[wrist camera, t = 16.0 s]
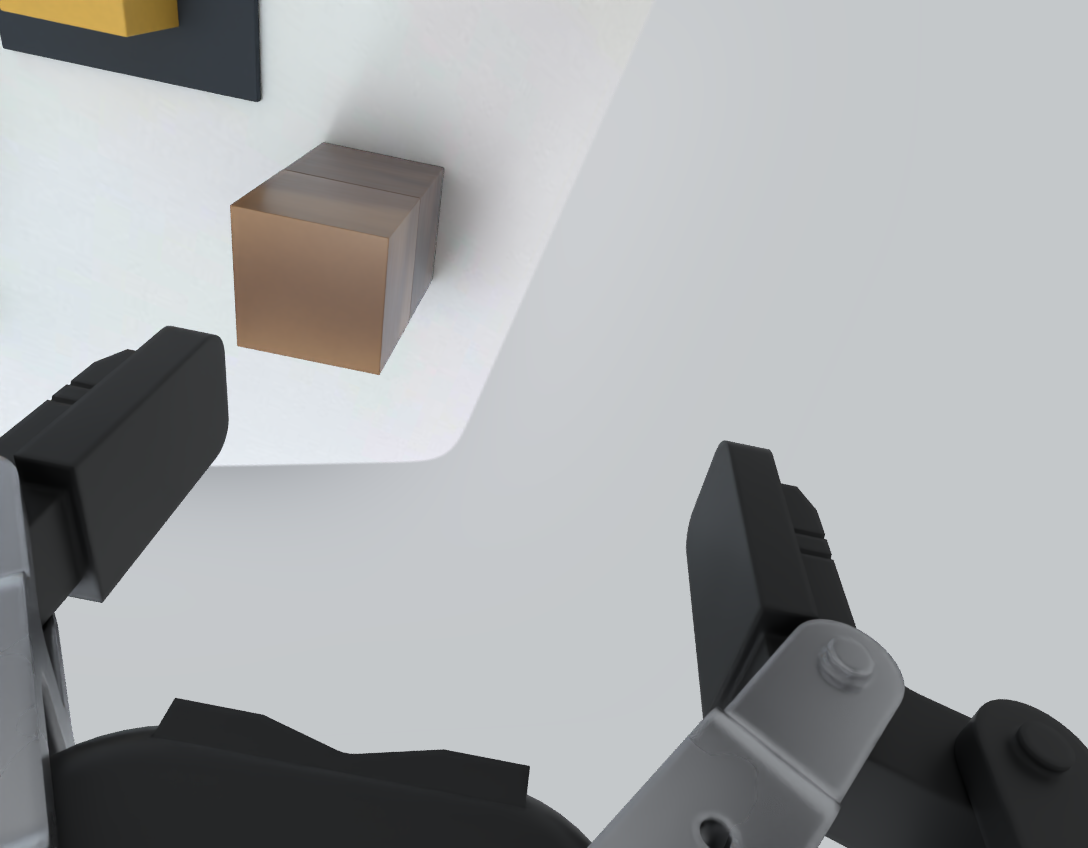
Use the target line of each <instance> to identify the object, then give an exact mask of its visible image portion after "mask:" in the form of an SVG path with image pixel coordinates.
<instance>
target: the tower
mask: <svg viewBox="0 0 1088 848" xmlns="http://www.w3.org/2000/svg"><path fill="white" fill-rule="evenodd" d="M443 174H444V168H442V167H438V166H433V165H428V164H424V163H419V162H414V161H409V160H405V159H400V158H395V157H390V156H386V155H381V154H376V153H372V152H367V151H362V150H357V149H353V148H348V147H343V146H338V145H334V144H329V143H322V144H320V145H319V146H317V147H316V148H314V149H313V150H311V151H310V152H308V153H307V154H305V155H304V156H302V157H301V158H300V159H298V160H297V161H295V162H294V163H292V164H291V165H289V166H288V167H286V168H285V169H284V170H281V171H280V172H278V173H277V174H275V175H274V176H272V177H271V178H270V179H268V180H267V181H265V182H264V183H262V184H261V185H259V186H258V187H256V188H255V189H253V190H252V191H250V192H249V193H247V194H246V195H245V196H243V197H242V198H240V199H239V200H237V201H236V202H234V203H233V204H231V205H230V211H231V231H232V251H233V271H234V291H235V310H236V330H237V346H240V347H245V348H250V349H255V350H259V351H264V352H269V353H274V354H279V355H284V356H289V357H294V358H299V359H304V360H308V361H313V362H318V363H323V364H328V365H333V366H338V367H343V368H348V369H352V370H357V371H362V372H367V373H372V374H377V375H380V373H381V371H382V369H383V367H384V366H385V364H386V362H387V360H388V359H389V357H390V355H391V353H392V351H393V350H394V348H395V346H396V344H397V342H398V341H399V339H400V337H401V335H402V334H403V332H404V330H405V328H406V326H407V325H408V323H409V321H410V319H411V317H412V315H413V314H414V312H415V310H416V308H417V306H418V305H419V303H420V301H421V299H422V297H423V296H424V294H425V292H426V290H427V289H428V287H429V285H430V283H431V281H432V277H433V268H434V259H435V249H436V240H437V230H438V221H439V212H440V202H441V193H442V184H443Z"/></svg>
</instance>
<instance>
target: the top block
mask: <svg viewBox="0 0 1088 848" xmlns="http://www.w3.org/2000/svg"><path fill="white" fill-rule="evenodd" d="M0 9H1V10H2V11H6V12H11V13H15V14H20V15H25V16H29V17H34V18H39V19H44V20H48V21H53V22H58V23H62V24H67V25H72V26H76V27H81V28H86V29H91V30H95V31H100V32H105V33H109V34H114V35H119V36H123V37H129V36H134V35H139V34H144V33H149V32H154V31H159V30H164V29H169V28H174V27H178V26H179V20H178V7H177V0H0Z"/></svg>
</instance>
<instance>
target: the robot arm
mask: <svg viewBox="0 0 1088 848" xmlns="http://www.w3.org/2000/svg"><path fill="white" fill-rule="evenodd" d="M228 421H229V417H228V400H227V383H226V367H225V352H224V345H223V342H222V340H221V338H220V337H219V336H217V335H213V334H208V333H203V332H198V331H193V330H188V329H184V328H179V327H174V326H166V327H164V328H163V329H161V330H160V331H159V332H158V333H157V334H155V335H154V336H153V337H152V338H151V339H149V340H148V341H147V342H146V343H145V344H144V345H142V346H141V347H140V348H139V349H138V350H136V351H134V350H129V349H127V350H124V351H122V352H119V353H117V354H114V355H112V356H109V357H106V358H104V359H101V360H99V361H96V362H94V363H93V364H91V365H90V366H89V367H88V368H86V369H85V370H84V371H83V372H82V373H80V374H79V375H78V376H77V377H75V378H74V379H73V380H72V381H71V384H70V385H65V386H64V387H63V388H62V389H60V390H59V391H58V392H57V393H55V394H54V395H53V396H52V400H51V401H50V400H47V401H45V402H44V403H43V404H42V405H40V406H39V407H38V408H37V409H35V410H34V411H33V412H32V413H30V414H29V415H28V416H27V417H25V418H24V419H23V420H22V421H20V422H19V423H18V424H17V425H15V426H14V427H13V428H12V429H10V430H9V431H8V432H7V433H5V434H4V435H3V436H2V437H0V848H818V846H819V845H820V843H821V841H822V840H823V838H824V836H826V837H828V838H830V839H832V840H834V841H836V842H838V843H840V844H841V845H843V846H845V847H847V848H1088V749H1087V747H1086V746H1085V745H1084V744H1083V743H1082V742H1081V741H1080V740H1079V739H1078V738H1077V737H1076V736H1075V735H1074V734H1073V733H1072V732H1071V731H1070V730H1069V729H1067V728H1066V727H1065V726H1063V725H1062V724H1061V723H1060V722H1058V721H1057V720H1055V719H1054V718H1052V717H1051V716H1049V715H1048V714H1046V713H1044V712H1042V711H1040V710H1038V709H1036V708H1034V707H1032V706H1029V705H1027V704H1024V703H1020V702H1017V701H1012V700H1003V699H998V700H992V701H989V702H987V703H985V704H984V705H983V706H982V707H981V708H980V709H979V710H978V711H977V712H976V714H975V715H974V716H973V717H972V718H970V717H968V716H966V715H963V714H961V713H959V712H957V711H954V710H952V709H950V708H948V707H946V706H944V705H941V704H939V703H937V702H935V701H932V700H931V699H928V698H926V697H924V696H922V695H920V694H918V693H916V692H914V691H912V690H910V689H909V688H907V687H905V686H904V680H903V677H902V674H901V671H900V670H899V668H898V666H897V664H896V662H895V661H894V660H893V658H892V657H891V656H890V654H889V653H887V651H886V650H885V649H884V648H883V647H882V646H881V645H880V644H879V643H878V642H876V641H875V640H874V639H872V638H871V637H869V636H868V635H867V634H865V633H863V632H862V631H860V630H858V629H856V626H855V623H854V620H853V617H852V614H851V611H850V608H849V605H848V602H847V599H846V596H845V593H844V591H843V587H842V584H841V581H840V578H839V575H838V572H837V569H836V566H835V563H834V560H831V555H832V554H831V551H830V548H829V545H828V542H827V540H826V539H824V536H825V533H824V530H823V527H822V524H821V522H820V518H819V516H818V513H817V510H816V509H815V508H814V507H813V505H812V504H811V503H810V502H809V501H808V500H807V498H806V497H805V496H804V495H803V494H802V492H801V491H800V490H799V489H798V487H796V486H790V485H786V484H781V482H780V479H779V475H778V472H777V469H776V465H775V461H774V458H773V455H772V452H771V451H770V450H769V449H764V448H759V447H754V446H749V445H744V444H740V443H735V442H730V441H722V442H721V443H720V444H719V446H718V448H717V450H716V452H715V455H714V457H713V460H712V462H711V465H710V468H709V470H708V473H707V475H706V478H705V481H704V483H703V486H702V489H701V491H700V494H699V496H698V499H697V501H696V504H695V507H694V510H693V512H692V515H691V519H690V522H689V527H688V532H687V541H686V553H687V563H688V573H689V583H690V592H691V603H692V613H693V622H694V633H695V643H696V652H697V662H698V672H699V682H700V692H701V702H702V712H703V720H702V721H701V722H700V723H699V724H698V725H697V726H696V728H695V729H694V730H693V731H692V732H691V733H690V734H689V735H688V736H687V738H686V739H685V740H684V741H683V742H682V743H681V744H680V745H679V746H678V748H677V749H676V750H675V751H674V752H673V753H672V754H671V755H670V757H669V758H668V759H667V760H666V761H665V762H664V763H663V764H662V766H660V768H659V769H658V770H657V771H656V772H655V773H654V774H653V775H652V776H651V778H650V779H649V780H648V781H647V782H646V783H645V784H644V785H643V786H642V788H641V789H640V790H639V791H638V792H637V793H636V794H635V795H634V796H633V798H632V799H631V800H630V801H629V802H628V803H627V804H626V805H625V806H624V808H623V809H622V810H621V811H620V812H619V813H618V814H617V815H616V816H615V818H614V819H613V820H612V821H611V822H610V823H609V824H608V825H607V826H606V828H605V829H604V830H603V831H602V832H601V833H600V834H599V835H598V836H597V838H596V839H595V840H594V841H593V842H591V841H590V840H589V839H588V838H587V837H586V836H585V835H584V834H583V833H582V832H581V831H580V830H579V829H578V828H577V827H576V826H574V825H573V824H572V823H571V822H569V821H568V820H567V819H566V818H565V817H563V816H562V815H561V814H559V813H558V812H556V811H555V810H553V809H552V808H550V807H549V806H547V805H546V804H544V803H542V802H541V801H539V800H537V799H535V798H533V797H531V796H529V795H527V787H528V777H529V770H530V766H527V765H521V764H516V763H511V762H506V761H501V760H495V759H490V758H485V757H480V756H474V755H469V754H464V753H459V752H454V751H449V750H426V751H406V752H386V753H368V754H367V753H366V754H348V753H343V752H340V751H337V750H335V749H333V748H331V747H329V746H327V745H325V744H323V743H321V742H319V741H316V740H314V739H312V738H310V737H308V736H306V735H304V734H302V733H300V732H298V731H296V730H294V729H292V728H290V727H287V726H285V725H283V724H281V723H279V722H277V721H275V720H273V719H271V718H269V717H267V716H265V715H261V714H256V713H251V712H246V711H240V710H235V709H230V708H225V707H220V706H215V705H210V704H204V703H199V702H194V701H189V700H183V699H178V698H175V699H174V701H173V702H172V704H171V706H170V707H169V709H168V711H167V713H166V714H165V716H164V718H163V719H162V721H161V723H160V725H159V726H148V727H142V728H135V729H129V730H123V731H119V732H115V733H111V734H107V735H103V736H99V737H96V738H94V739H91V740H88V741H85V742H82V743H79V744H76V745H75V743H74V737H73V732H72V726H71V718H70V711H69V704H68V697H67V689H66V682H65V674H64V667H63V660H62V653H61V645H60V638H59V631H58V624H57V621H56V617H55V613H54V612H55V611H56V610H57V608H58V607H59V606H60V605H61V604H62V602H63V601H64V600H65V599H66V598H67V596H70V597H75V598H80V599H85V600H90V601H96V602H100V603H102V602H103V601H104V600H105V599H106V597H107V596H108V595H109V593H110V592H111V591H112V590H113V588H114V587H115V586H116V585H117V583H118V582H119V581H120V580H121V578H122V577H123V576H124V574H125V573H126V572H127V571H128V569H129V568H130V567H131V566H132V564H133V563H134V562H135V560H136V559H137V558H138V557H139V555H140V554H141V553H142V552H143V550H144V549H145V548H146V546H147V545H148V544H149V543H150V541H151V540H152V539H153V537H154V536H155V535H156V534H157V532H158V531H159V530H160V528H161V527H162V526H163V525H164V524H165V522H166V521H167V520H168V518H169V517H170V516H171V515H172V513H173V512H174V511H175V510H176V508H177V507H178V506H179V504H180V503H181V502H182V501H183V499H184V498H185V497H186V495H187V494H188V493H189V492H190V490H191V489H192V488H193V486H194V485H195V484H196V483H197V481H198V480H199V479H200V478H201V476H202V475H203V474H204V473H205V471H206V470H207V469H208V467H209V466H210V465H211V464H212V462H213V461H214V460H215V459H216V457H217V456H218V454H219V453H220V451H221V449H222V447H223V444H224V442H225V438H226V435H227V430H228Z"/></svg>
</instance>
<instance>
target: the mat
mask: <svg viewBox="0 0 1088 848" xmlns="http://www.w3.org/2000/svg"><path fill="white" fill-rule="evenodd" d="M177 7H178V20H179V26H178V27H174V28H169V29H164V30H159V31H154V32H149V33H144V34H139V35H134V36H129V37H123V36H119V35H114V34H109V33H105V32H100V31H95V30H91V29H86V28H81V27H76V26H72V25H67V24H62V23H58V22H53V21H48V20H44V19H39V18H34V17H29V16H25V15H20V14H15V13H11V12H6V11H2V10H1V9H0V35H1V40H2V45H3V48H4V49H9V50H14V51H19V52H23V53H28V54H33V55H37V56H42V57H47V58H52V59H56V60H61V61H66V62H70V63H75V64H80V65H84V66H89V67H94V68H99V69H103V70H108V71H113V72H117V73H122V74H127V75H132V76H136V77H141V78H146V79H150V80H155V81H160V82H165V83H169V84H174V85H179V86H183V87H188V88H193V89H197V90H202V91H207V92H212V93H216V94H221V95H226V96H230V97H235V98H240V99H245V100H249V101H254V102H258V101H260V100H261V98H260V59H259V20H258V0H177Z"/></svg>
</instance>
